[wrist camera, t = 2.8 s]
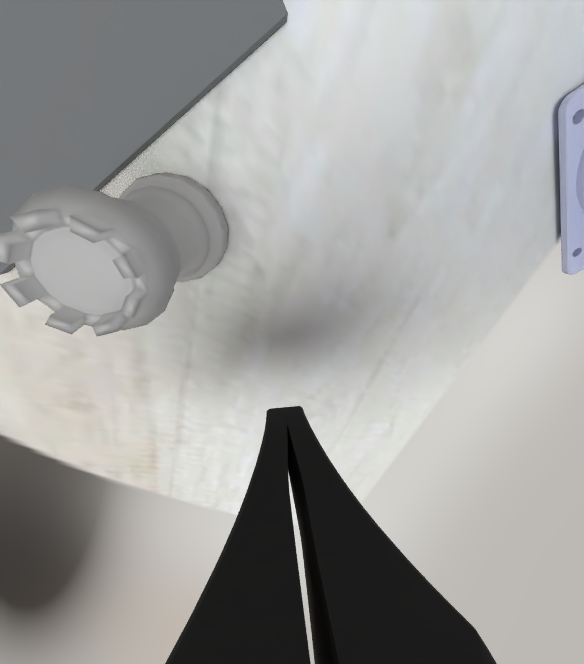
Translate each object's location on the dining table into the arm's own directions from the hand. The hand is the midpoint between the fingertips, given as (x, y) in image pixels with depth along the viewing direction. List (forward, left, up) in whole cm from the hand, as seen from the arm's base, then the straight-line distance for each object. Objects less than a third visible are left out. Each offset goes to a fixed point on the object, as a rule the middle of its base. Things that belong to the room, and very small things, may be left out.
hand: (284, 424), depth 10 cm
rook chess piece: (+8, 0, -7) cm, 10 cm away
